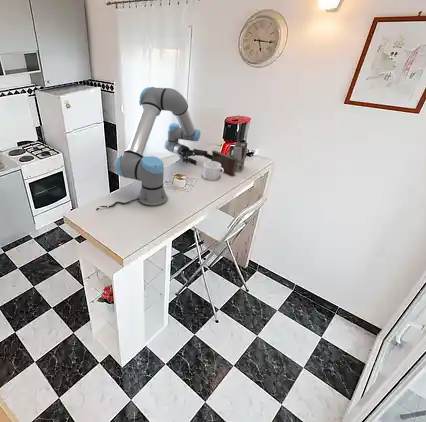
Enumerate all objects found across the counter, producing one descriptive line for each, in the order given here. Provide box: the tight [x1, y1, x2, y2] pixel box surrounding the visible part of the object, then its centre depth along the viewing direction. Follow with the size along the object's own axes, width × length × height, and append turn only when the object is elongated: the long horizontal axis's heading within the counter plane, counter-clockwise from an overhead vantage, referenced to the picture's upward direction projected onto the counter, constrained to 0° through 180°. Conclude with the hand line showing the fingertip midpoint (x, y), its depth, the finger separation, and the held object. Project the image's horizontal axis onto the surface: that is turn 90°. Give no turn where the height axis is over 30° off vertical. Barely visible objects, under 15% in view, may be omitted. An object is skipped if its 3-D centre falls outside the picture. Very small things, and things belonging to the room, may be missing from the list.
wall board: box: [211, 149, 237, 177], centre depth 183 cm, size 18×3×11 cm, turn 32°
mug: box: [202, 160, 224, 181], centre depth 177 cm, size 13×10×8 cm
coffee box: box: [231, 141, 248, 173], centre depth 183 cm, size 9×6×16 cm
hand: (204, 160), depth 181 cm, fingers open, 13 cm apart
